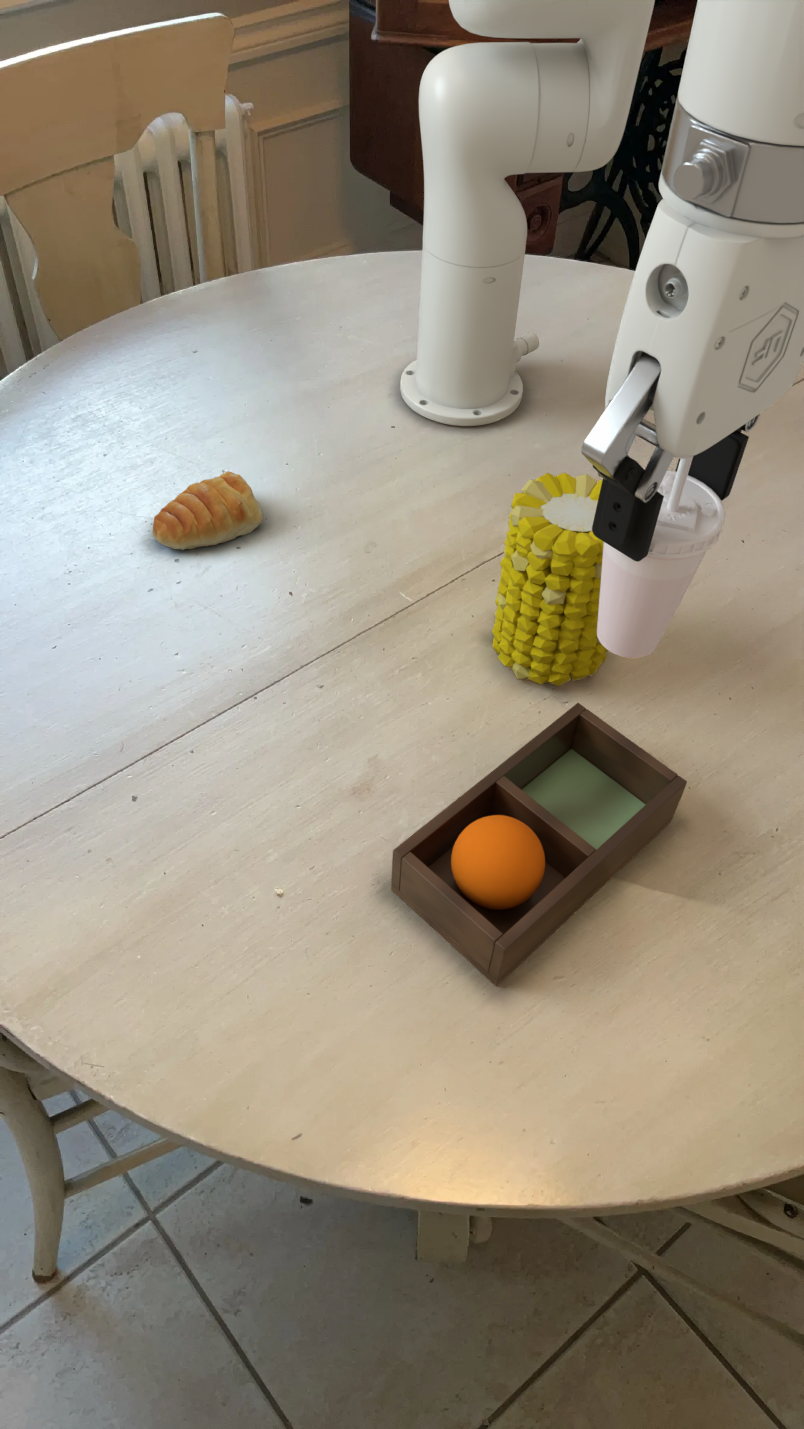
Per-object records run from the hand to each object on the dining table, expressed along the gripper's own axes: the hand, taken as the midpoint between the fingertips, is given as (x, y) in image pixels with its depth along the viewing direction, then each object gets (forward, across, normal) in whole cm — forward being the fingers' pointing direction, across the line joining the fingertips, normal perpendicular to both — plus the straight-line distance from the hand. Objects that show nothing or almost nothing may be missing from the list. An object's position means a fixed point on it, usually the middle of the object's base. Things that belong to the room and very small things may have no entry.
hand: (661, 513), depth 55 cm
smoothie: (+9, 0, 0) cm, 9 cm away
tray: (+26, -6, -1) cm, 27 cm away
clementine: (+22, -10, -1) cm, 24 cm away
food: (+26, +10, +12) cm, 31 cm away
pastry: (+26, 0, +42) cm, 49 cm away
